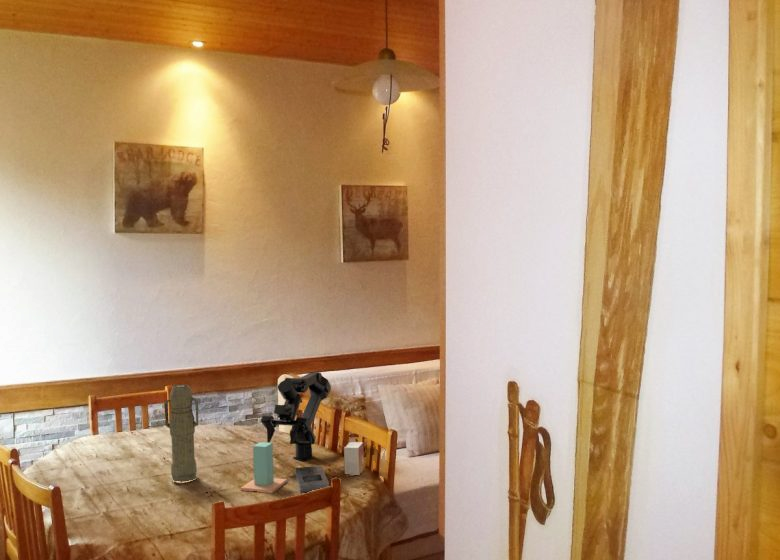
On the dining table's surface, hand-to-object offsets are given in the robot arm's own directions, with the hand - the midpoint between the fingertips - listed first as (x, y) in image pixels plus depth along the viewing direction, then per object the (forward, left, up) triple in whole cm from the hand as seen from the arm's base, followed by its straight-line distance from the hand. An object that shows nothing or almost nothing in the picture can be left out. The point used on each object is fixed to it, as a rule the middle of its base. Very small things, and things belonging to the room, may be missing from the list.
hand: (279, 443), depth 261 cm
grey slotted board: (+15, +2, -12) cm, 20 cm away
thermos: (-24, -26, -12) cm, 37 cm away
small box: (+20, +19, -12) cm, 30 cm away
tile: (+5, -11, -12) cm, 17 cm away
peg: (+5, -11, -11) cm, 17 cm away
